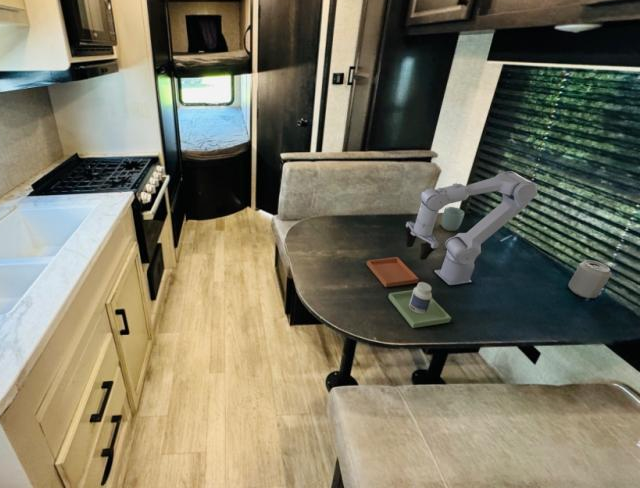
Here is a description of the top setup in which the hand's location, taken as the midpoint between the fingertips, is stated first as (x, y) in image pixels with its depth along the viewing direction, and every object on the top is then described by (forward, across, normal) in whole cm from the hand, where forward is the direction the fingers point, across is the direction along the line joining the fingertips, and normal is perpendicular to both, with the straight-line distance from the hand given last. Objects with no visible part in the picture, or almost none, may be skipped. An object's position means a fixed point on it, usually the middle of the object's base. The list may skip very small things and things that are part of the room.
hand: (415, 252), depth 117 cm
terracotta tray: (+10, -2, -6) cm, 12 cm away
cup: (+10, -26, +40) cm, 48 cm away
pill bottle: (+10, +16, -9) cm, 21 cm away
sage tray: (+10, +16, -8) cm, 21 cm away
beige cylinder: (+10, +19, +54) cm, 59 cm away
